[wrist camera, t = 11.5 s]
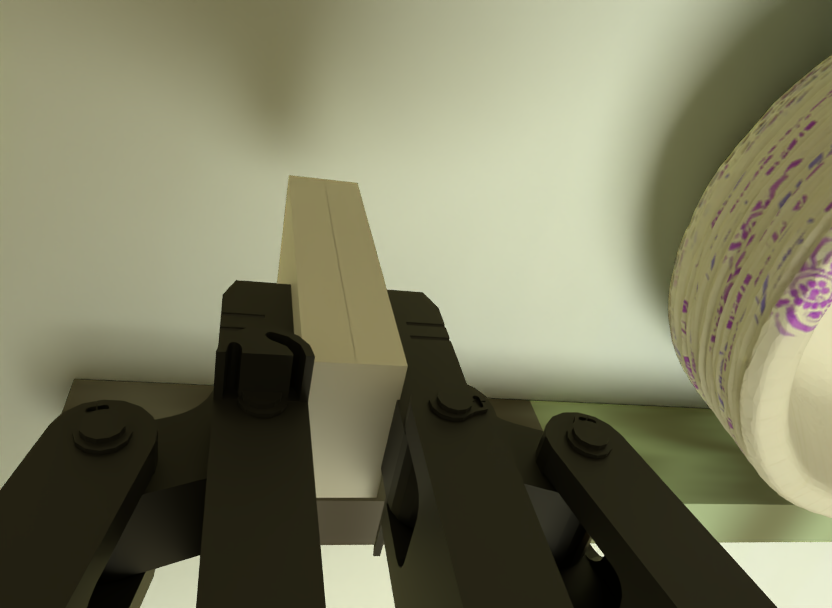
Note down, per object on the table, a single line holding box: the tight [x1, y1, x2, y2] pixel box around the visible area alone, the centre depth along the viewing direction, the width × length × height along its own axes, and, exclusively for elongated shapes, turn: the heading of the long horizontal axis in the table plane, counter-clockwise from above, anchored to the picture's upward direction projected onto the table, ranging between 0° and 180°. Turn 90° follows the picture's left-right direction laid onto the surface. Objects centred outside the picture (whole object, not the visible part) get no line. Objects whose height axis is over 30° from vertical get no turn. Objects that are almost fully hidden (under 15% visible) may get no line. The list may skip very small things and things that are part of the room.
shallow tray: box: [62, 379, 832, 545], centre depth 21 cm, size 40×22×5 cm, turn 78°
